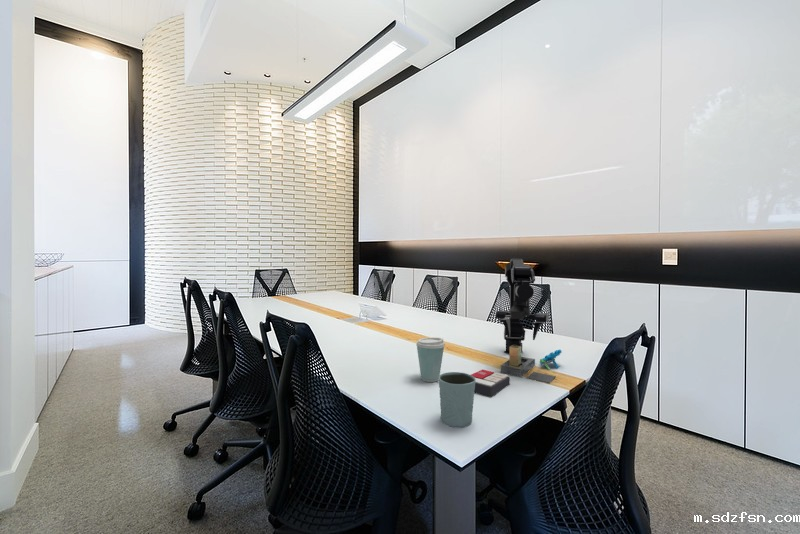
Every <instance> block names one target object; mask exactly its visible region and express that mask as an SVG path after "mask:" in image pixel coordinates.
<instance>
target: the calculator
mask: <svg viewBox="0 0 800 534" xmlns="http://www.w3.org/2000/svg"><path fill="white" fill-rule="evenodd" d="M470 375H472V376H473V377H474V378H475V379H476V382H475V390H474V394H477V395H481V396H485V397H488V398H493V397H494V396H496V395H497V394H498V393H499V392H500V391H502V390H504V389H505V388H507V387H509V386H510V382H511V381H510V379H511V378H510V376H509V375H508V374H504V373H501V372H495V371H491V370H486V369H480V370H478V371H476V372H474V373H472V374H470ZM506 386H507V387H506Z"/></svg>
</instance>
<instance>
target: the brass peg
mask: <svg viewBox="0 0 800 534" xmlns="http://www.w3.org/2000/svg"><path fill="white" fill-rule="evenodd" d="M508 354H509V355H508V358H509V359H508V360H509V365H512V366H517V367H519V366H521V357H522V353H521V346H516V345H512V346H510V348H509V353H508Z"/></svg>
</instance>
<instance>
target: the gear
mask: <svg viewBox="0 0 800 534" xmlns="http://www.w3.org/2000/svg"><path fill="white" fill-rule="evenodd" d="M562 353H563V352H562V350H561V349H556V350H554V352H553V351H552V352H550V353H549V354H547V355H545V356H544V357H542V358H540V359H539V364H540V365H543V366H545V367H546V368H547V370H548V371H549V370H550V367H549V364H551V363H553V365H554V367H555V368H556V369H559V368H560V366H559V364H558V363H557V361H556V358H557V357H558V356H560V355H561V354H562Z"/></svg>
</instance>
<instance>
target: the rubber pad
mask: <svg viewBox="0 0 800 534" xmlns="http://www.w3.org/2000/svg"><path fill="white" fill-rule="evenodd" d="M556 377H557V376H556V375H552V374H547V373H542V372H538V371H533V372H532V373H530V374H529V375H528V376H526V379H527V380H531V381H535V380H536V381H535V382H541V383H546V384H550V382H553V380H554V379H556Z"/></svg>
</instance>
